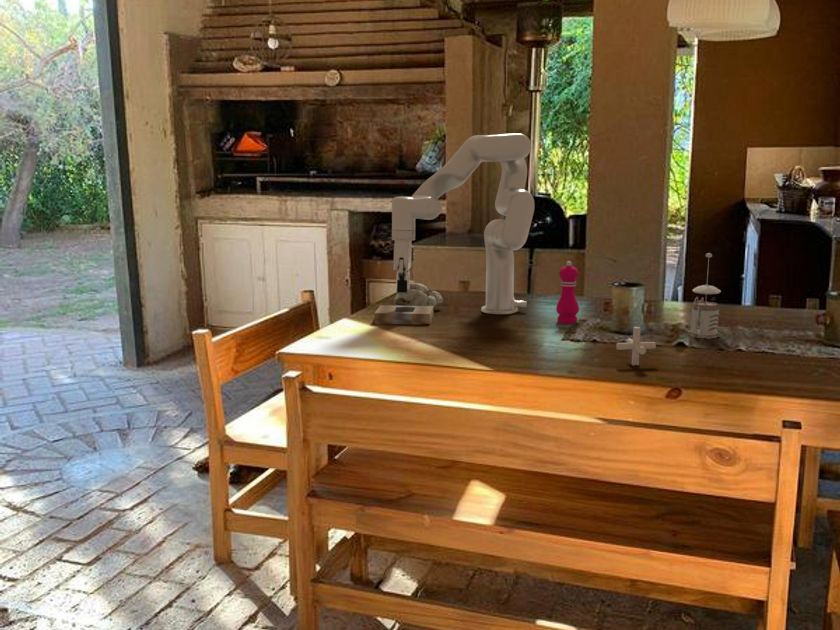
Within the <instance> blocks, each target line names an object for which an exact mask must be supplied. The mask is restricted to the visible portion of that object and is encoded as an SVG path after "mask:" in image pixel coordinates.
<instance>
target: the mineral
mask: <svg viewBox="0 0 840 630" xmlns="http://www.w3.org/2000/svg"><path fill="white" fill-rule="evenodd" d="M429 289H430V286H429V285H428V286H427V285H424V284H422V283H418V282H410V294H396V295H395V296H394V298H393V304H394V306H407V305H410V304H411V306H434V307H435V306H436V305H437V304H442V303H443V302H444V300H443V297H442V293H440V292H438V291H436V290H430V292H429Z"/></svg>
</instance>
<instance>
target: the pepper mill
mask: <svg viewBox="0 0 840 630" xmlns="http://www.w3.org/2000/svg"><path fill="white" fill-rule="evenodd" d="M558 276H559V278H560V279H561V280H560V286H561V295H560V297H559V300H558V302H557V304H556V308H555V309H556V310H555V311H556V313H558V316H557V318H556V319H557V323H558V324H561V325H574V324H573V323H575V324H577V323H578V317H577V316H576V315H578V313H579V312H580V307H579V302H578V300H577V297H576V294H575V288H576V286H577V281H576V280H577V279H578V277H579V271H578V268H577V267H575V266H573V263H572V261H570V260H567V262H566V263H565V265H564V266H562V267H561V268H560V270H559V273H558ZM576 322H577V323H576Z"/></svg>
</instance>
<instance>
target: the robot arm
mask: <svg viewBox="0 0 840 630" xmlns="http://www.w3.org/2000/svg"><path fill="white" fill-rule="evenodd" d="M531 150H532V143H531V140H530V138H529V137H528V136H527V135H525V134H523V133H517V132H516V133H500V134H489V135H488V134H483V135H482V134H479V135H478V134H477V135H476V134H475V135H472V136H470V137H468V138H467V139H466V140H465V141H464V142H463V144H462V145H461V146H460V147H459V148H458V150H456V151H455V153H454V154H453V155H452V156H451V157H450V158H449V160H448V161H447V162H446V163H445V164H444V165H443V167H441V168H439V170H437V171H436V172H435V173H433V175H431V176H429V178H427V179H426V180H425V181H424V182H423V183H422V184H421V185H420V186H419V187H418V188H417V190H415V192H414V193H413V194H412V195H411V196H395V197H393V199H392V204H391V222H392V223H391V240H392V241H394V244H393V246H394V247H393V268H392V270H393V271H394V272H398V280H397V292H402V293H406V292H407V280H406V276H407V271H408V272H410V268H411V267H412V252H413V251H412V249H413V248H412V245H413V244H412V241H415V240H416V219H419V220H430V221H431V220H434V219H436V218H438V217H439V215H440V214H441V212H442V205H441V202H440V201H439V200H438V199H439V198H441V197H442V196H443V195H445V193H446V194H447V193H448V192H449V191H451V190H454V189H457V188H459V187H460V186H462V185H464V184H465V182H466V181H467V180H468V179H469V178H470V177H471V176H472V174H473V173H474V172H475V171H476V170H477V168H478V167H479V166H480V165H481V163H497V162H499V163H500V165H501V176H500V180H499V186H498V189H497V193H496V198H495V201H494V207H495V210H496V212H497V213H499V214H500V215H502V216H505V219H502V218H499V219H498V218H497V219H493V220H491V221H489V222H488V224H487V225H486V226H485V229H484V232H483V237H484V238H483V239H484V240H483V241H484V246H485V247H484V248H485V262H486V263H485V305H483V306H481V307H480V308H481V309H480V311H481V312H482V313H485V314H490V315H512V314H516V313H517V312H518V311H519V308H518V307H521V308H526V307H527V306H528V305H527V301H526V300H525V301H524V300H518V299H515V296H514V295H515V294H514V292H515V291H514V288H515V286H514V284H515V282H514V281H515V254H514V251H518V250H520V249H522V247H523V246H524V245H525V244H526V242H527V240H528V237H529V233H530V228H531V224H532V220H533V216H534V213H535V205H536V204H535V199H534V197H533V195H532V193H531V192H529V191H528V190H526V189H525V188H526V184H527V183H526V182H527V177H528V165H527V163H526V159H525V158H526V157H528V156H529V154H530V152H531ZM404 273H405V274H404Z"/></svg>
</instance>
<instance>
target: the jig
mask: <svg viewBox="0 0 840 630" xmlns="http://www.w3.org/2000/svg"><path fill="white" fill-rule="evenodd" d="M434 308H435V306H413V305H406V306H396V305H395V304H394V305H393V304H392V305H390V304H388V305H384V304H383V305H381V304H380V305H379V306H378V308H377V309H376V310H375V312H374V324H376V325H379V324H380V325H382V324H383V325H422V324H430V323H431V324H432V321H433V319H432V318H434V311H435V310H434ZM431 324H430V325H431Z"/></svg>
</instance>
